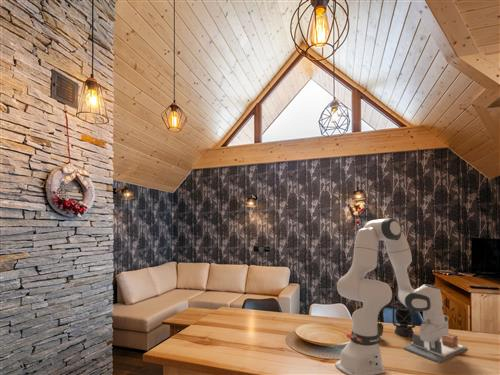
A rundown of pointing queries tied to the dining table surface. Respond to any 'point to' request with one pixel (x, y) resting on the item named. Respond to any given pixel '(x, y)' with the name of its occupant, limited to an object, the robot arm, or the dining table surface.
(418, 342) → the grey strip
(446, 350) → the white strip
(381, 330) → the dark ornate pot
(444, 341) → the rust block
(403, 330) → the lantern
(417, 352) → the slate board
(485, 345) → the dining table surface
